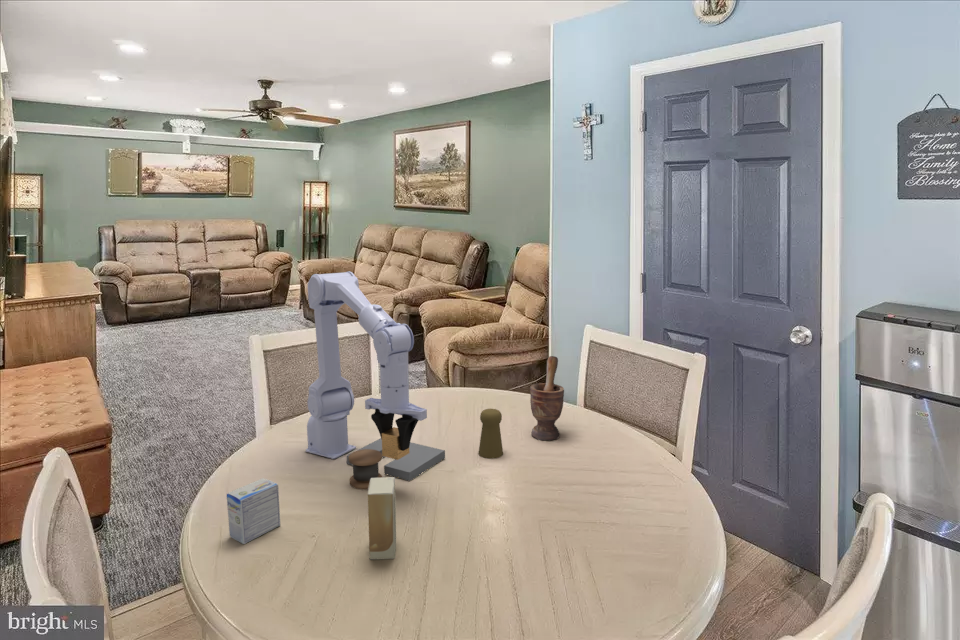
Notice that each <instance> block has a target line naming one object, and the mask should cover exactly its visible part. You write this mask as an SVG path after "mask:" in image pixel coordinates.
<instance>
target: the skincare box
mask: <svg viewBox="0 0 960 640" xmlns="http://www.w3.org/2000/svg"><path fill="white" fill-rule="evenodd" d="M367 509H368V510H367V513H368V516H367V517H368V537H369V538H368V544H369V545H368V548H369V550H368V551H369V552H368V553H369V560H392V559H395V558H396V551H397V550H396V549H397V519H396V518H397V515H396V514H397V512H396V509H397V508H396V477H393V476H388V477H387V476H386V477H384V476H382V477H381V478H371V479H370V483H369V488H368V489H367Z"/></svg>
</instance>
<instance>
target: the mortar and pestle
mask: <svg viewBox="0 0 960 640" xmlns="http://www.w3.org/2000/svg"><path fill="white" fill-rule="evenodd" d="M558 365H559V358H558V357H557V356H554V355H550V356H548V358H547V361H546V379H545V382H544V383H543V382H540V383H534V384H532V385H530V387H529V389H530V391H529V394H530V398H529V399H530V400H529V401H530V409H531V414H532V416H533V418H534V419H535V420H536V422H537V423H536V425H535V426H533V428H532V430H531V436H532V437H533V438H535V439H537V440H538V441H551V440H557V439H559V438H560V435H561V433H560V432H559V428H558V427H557V426H556V424H555V423H556V422H557V421H558V419H559V418H560V417H561V414H562V411H563V407H564V396H565V389H564V387H563V386H561V385H560V384H555V378H556V377H555V376H556V373H557V369H558Z"/></svg>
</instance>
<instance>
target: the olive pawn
mask: <svg viewBox="0 0 960 640" xmlns="http://www.w3.org/2000/svg"><path fill="white" fill-rule="evenodd" d="M502 415H503V414H502V412H501V411H500V410H498V409H496V408H486V409H484V410H482V411H481V412H480V415H479V417H480V418H479V419H480V422H481V423H482V426H481V432H480V439H479V448H478V453H477V454H478V456H479V457H481V458H484V459H491V460H492V459H499V458H501V457H503V455H504V449H503V441H502V440H503V439H502V433H501V427H500V426H501V425H500V424H501V422H502V420H503V419H502V418H503V417H502Z"/></svg>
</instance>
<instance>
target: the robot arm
mask: <svg viewBox="0 0 960 640" xmlns="http://www.w3.org/2000/svg"><path fill="white" fill-rule="evenodd" d="M307 300H308V304H309V305H308V306H309V309H312V310H314V311H313V313H314V325H315V327H314V328H315V337H316V339H315V340H316V350H317V352H316V353H317V365H318V377H317V379H315V380H314V382H313V383H311V384H310V385H309V387H308V398H307V409H308V411H309V414H310V417H309V418H308V421H307V425H306V435H307V437H306V438H307V448H306V449H305V452H307V453H310V454H313V455H317V456H321V457H325V458H328V459H332V460H336V459H337V458H340V457H342V456H343V455H345V454H347V453H349V452H351V451H353V450H355V449H357V446H356V445H353V444H350V443H349V436H348V434H349V430H348V416H349V415H350V414H351V413H350V412H351V411H352V410H353V408H354V406H355V395H354V393H353V390H352V385H351V382H350V381H349V380H348V379H347V378H345V377H343V376H342V369H341V368H342V367H341V357H340V356H341V355H340V344H339V342H340V340H339V328H338V315H337V314H338V311H339V309H340V308H341V307H342V306H343V305H346V306H348V307H349V308H350V309H351V310H352V311H353V312H355V314H357V315H358V323H359V325H360V326H361V327H362V328H363V329H364V330H365V332H366V333H367V335H369V336H370V337H371V339H372V342H373V343H372V345H373V347H374V350H375V352H376V361H377V363H378V364H379V369H380V370H379V371H380V372H379V373H380V374H379V375H380V376H379V377H380V398H374V397H369V398H367V399H365V400H364V408H365V410H374V413H372V414H371V415H370V417H371V418H370V419H371V420H372V421H373V423H374V424H375V426H376V428H377V431H378V433H379V436H380V438H381V439H382V433H383V432H385V431H387V430H389V429H391V428H393V425H394V424H393V423H394V418H395V415H399V416H401V417H399V418H397V419H395V425H396V428H398V431H399V438H400V449H401V450H402V451H404V450H406V449H408V448H409V446H410V442H412V436H413V433H414V432H415V431H414V430H415V427H416V426H417V424H418V423H419V422H422V421H424V420H426V419H427V418H428V416H427V415H428V412H427V411H428V409H427V408H425V407H424V408H423V407H420V406H418V405H416V404H414V403H411V402H410V387H409V386H410V385H409V383H410V382H409V381H410V380H409V374H410V373H409V352H410V351H412V350H413V348H414V344H415V337H414V334H413V331H412V329H411V328H410V326H409V324H406V323H400V322H396V321H395V320H394V319H393V318H392V317H391V316H390V314H388V312H386V311H385V310H384V308H383V307H382V306H381V305H380V304H375V303H374V304H373V303H372V302H370V301H369V300H368V298H367V297H366V295H365V294H364V293H363V292H362V290H361V289H360V286H359V279H358V277H357V276H356V275H355V274H354V272H352V271H350V270H349V271H345V272H332V273H331V272H330V273H314V274H312V275H311V276H310V278H309V280H308V282H307ZM371 303H372V304H371Z"/></svg>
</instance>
